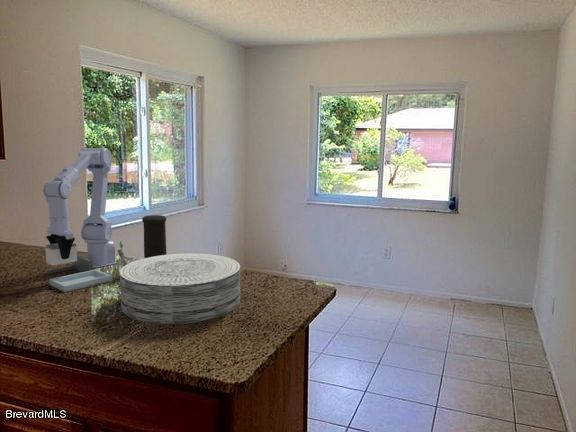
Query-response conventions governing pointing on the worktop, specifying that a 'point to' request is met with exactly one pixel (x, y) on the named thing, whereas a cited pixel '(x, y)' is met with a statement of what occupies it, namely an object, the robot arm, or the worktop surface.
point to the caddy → (54, 254)
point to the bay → (75, 266)
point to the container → (154, 235)
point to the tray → (80, 280)
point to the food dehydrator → (179, 287)
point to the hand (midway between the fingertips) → (61, 257)
